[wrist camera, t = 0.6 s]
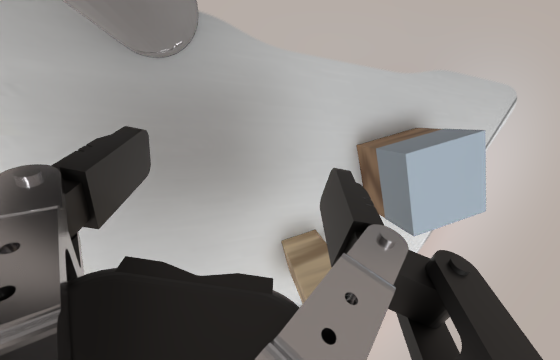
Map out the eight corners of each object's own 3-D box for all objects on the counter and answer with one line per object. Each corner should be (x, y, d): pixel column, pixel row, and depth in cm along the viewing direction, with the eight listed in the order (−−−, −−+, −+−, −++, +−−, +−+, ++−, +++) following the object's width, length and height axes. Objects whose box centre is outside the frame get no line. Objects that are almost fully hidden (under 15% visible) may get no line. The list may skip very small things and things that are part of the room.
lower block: (355, 145, 33) (376, 149, 28) (414, 127, 34) (444, 129, 30) (365, 205, 36) (386, 218, 31) (420, 187, 37) (448, 197, 32)
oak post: (281, 240, 34) (311, 309, 22) (315, 229, 35) (363, 290, 22) (289, 271, 35) (322, 352, 23) (322, 260, 36) (371, 333, 24)
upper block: (375, 148, 28) (405, 154, 24) (443, 128, 30) (485, 130, 25) (385, 218, 31) (413, 236, 26) (447, 197, 32) (486, 211, 27)
